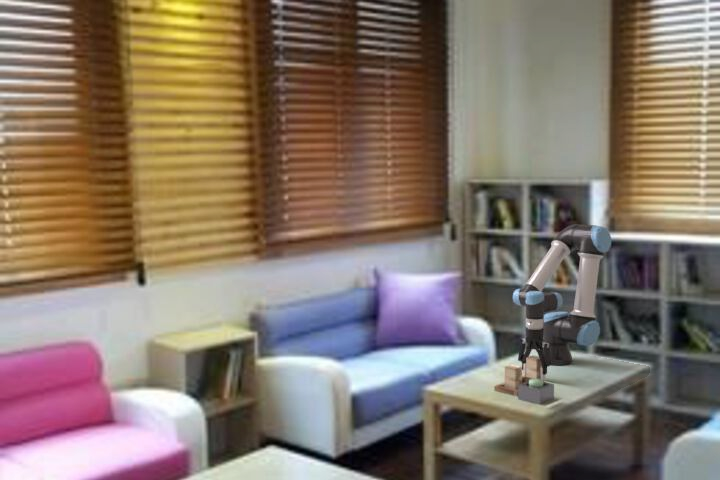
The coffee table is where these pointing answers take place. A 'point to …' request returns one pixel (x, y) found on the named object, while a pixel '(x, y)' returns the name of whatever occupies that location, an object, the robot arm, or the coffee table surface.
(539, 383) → the button
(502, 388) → the wooden divided tray
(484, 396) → the coffee table surface
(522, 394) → the grey square bin
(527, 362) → the billet
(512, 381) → the seated billet
